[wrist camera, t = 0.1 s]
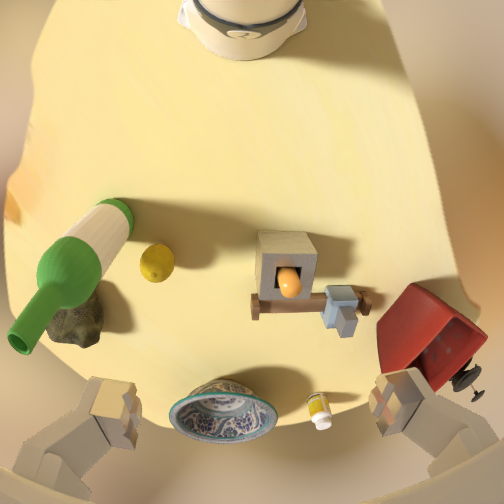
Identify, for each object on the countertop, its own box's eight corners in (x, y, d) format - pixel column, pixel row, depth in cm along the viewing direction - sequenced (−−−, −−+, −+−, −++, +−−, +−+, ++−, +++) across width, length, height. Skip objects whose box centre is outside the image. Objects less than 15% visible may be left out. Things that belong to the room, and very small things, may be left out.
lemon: (183, 247, 49) (176, 271, 42) (168, 270, 51) (160, 297, 44) (155, 230, 47) (143, 252, 40) (141, 255, 49) (128, 280, 42)
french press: (429, 328, 64) (472, 392, 44) (455, 318, 64) (500, 376, 43) (420, 357, 69) (455, 418, 49) (445, 347, 69) (482, 403, 49)
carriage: (325, 286, 54) (340, 315, 46) (350, 285, 55) (366, 313, 47) (320, 312, 57) (332, 343, 49) (342, 311, 58) (357, 341, 50)
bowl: (214, 343, 59) (213, 378, 51) (293, 385, 68) (300, 416, 60) (154, 391, 67) (149, 421, 58) (229, 424, 76) (230, 451, 67)
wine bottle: (135, 242, 48) (62, 382, 21) (95, 237, 46) (3, 361, 20) (136, 198, 44) (39, 321, 18) (94, 194, 43) (-23, 301, 16)
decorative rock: (41, 262, 48) (16, 290, 39) (107, 281, 51) (89, 314, 42) (48, 317, 54) (30, 346, 45) (108, 336, 57) (95, 369, 48)
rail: (251, 293, 54) (253, 307, 50) (364, 291, 56) (372, 303, 52) (250, 306, 55) (252, 320, 52) (361, 303, 57) (368, 315, 54)
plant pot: (355, 330, 61) (382, 388, 46) (410, 263, 54) (456, 313, 39) (403, 349, 66) (430, 397, 51) (451, 293, 59) (489, 337, 44)
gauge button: (276, 262, 44) (282, 280, 40) (296, 262, 45) (303, 280, 40) (275, 279, 46) (279, 298, 41) (293, 279, 46) (300, 297, 42)
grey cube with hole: (257, 230, 48) (262, 253, 41) (305, 231, 49) (317, 253, 42) (254, 273, 52) (259, 301, 45) (299, 273, 53) (309, 300, 46)
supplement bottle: (303, 402, 72) (309, 431, 64) (312, 390, 70) (320, 421, 62) (320, 403, 74) (327, 431, 65) (329, 392, 71) (338, 421, 63)
